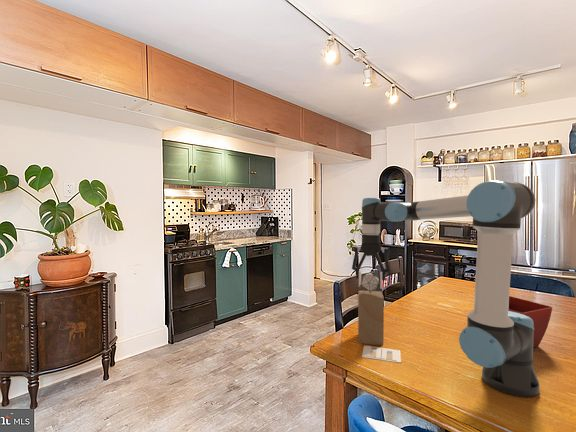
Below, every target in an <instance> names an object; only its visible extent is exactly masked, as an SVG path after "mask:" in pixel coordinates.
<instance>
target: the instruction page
mask: <svg viewBox="0 0 576 432" xmlns="http://www.w3.org/2000/svg"><path fill="white" fill-rule="evenodd" d="M361 357H362V358H364V359H365V358H366V359H371V360H378V361H386V362H391V363H397V364H398V363H399V364H401V363H402V356H401V350H399V349H392V348H384V347H380V346H379V347H376V346H369V345H363V349H362V355H361Z"/></svg>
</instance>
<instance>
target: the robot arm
mask: <svg viewBox="0 0 576 432" xmlns="http://www.w3.org/2000/svg"><path fill="white" fill-rule="evenodd" d="M535 196H536V195H535V193H534V192H533V190H532V189H531V188H530V187H529V186H527V185H526V184H524V183H521V182H516V181H505V180H497V179H496V180H487V181H484V182H481V183H479V184H477V185H476V186H474V187H473V188H472V189H471V190H470V192H469V193H468V195H467V194H466V195H461V196H460V195H459V196H453V197H442V198H436V199H430V200H429V199H428V200H427V199H426V200H419V201H410V202H408V201H407V202H399V201H389V202H387V201H386V202H383V201H382V202H381V198H379V197H364V198H362V200H361V201H362V203H361V233H362V235H361V245H360V246H356V245H355V247H354V254H353V255H354V256H353V259H352V260H353V261H352V265H351V270H353V271H355V277H356V279H358V287H360V288H361V286H362V285H361V283H362V279H361V278H362V270H360V269H361V267H362V265H363V263H364V260H366V257H370V256H371V257H375V259H376V261H377V264H378V266H379V268H380V270H381V271H380V272H379V273H380V275H379V276H380V277H379V278H380V279H379V283H380V286H379V288H380V289H383V281H385V280H386V273H389V272H390V271H391V269H390V263H389V258H388V257H389V256H388V247H383V246H381V235H380V234H381V221H382V222H384V221H385V222H392V223H395V222H396V223H398V222H402V221H403V222H404V221H419V220H420V221H421V220H422V221H423V220H433V219H436V220H437V219H451V218H452V219H453V218H468V217H472V228H474V230H476V231H477V244H476V245H477V247H476V261H475V262H476V263H475V265H476V266H475V267H476V268H475V281H474V282H475V283H474V299H473V310H471V311H469V312H468V313H467V320H466V321H467V322H466V327H465V328H463V329H462V330H461V332H460V334H459V336H458V338H459V339H458V341H459V346H460V348H461V350H462V352H463V353H464V354H465V355H466V357H467V359H469V360H470V361H471V362H473V364H476V365H477V366H480V367H482V369H481V377H482V378H481V379H482V380H483V381H484V382H485V383H486V385H488V386H490V387H491V388H493V389H495V390H497V391H499V392H501V393H504V394H508V395H511V396H515V397H522V398H533V397H537V396H538V395H539V394H540V389H541V388H540V382H539V379H538V376H537V373H536V371H535V368H534V347H533V339H534V325H533V320H532V319H531V318H530V317H528V316H526V315H523V314H520V313H516V312H511V311H508V307H509V296H510V289H511V275H512V274H511V273H512V272H511V271H512V260H513V259H512V258H513V257H512V256H513V242H514V235H515V233H517V232H518V231H519V230H521V223H522V221H521V220H522V219H523V218H525V217H527V216H528V215H530V213H532V211H533V210H534V208H535V205H536V197H535ZM360 250H361V251H362V252H363V254H362V257H361V258H360V260H359V263H358V264H357V262H358V261H357V260H358V256H359V252H360ZM380 251H382V253H383V256H384V263H385V266H384V265H383V262H382V260H381V257H380V255H379V253H380ZM356 265H357V266H356ZM360 285H361V286H360Z"/></svg>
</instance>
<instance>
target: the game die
mask: <svg viewBox="0 0 576 432" xmlns="http://www.w3.org/2000/svg"><path fill="white" fill-rule="evenodd" d="M362 276H363V277H361V285H360V286H362V287H363V288H364V289H365V290H364V291H370V292H369V293H371V291H378V290H379V289H378V287H380V285H379V283H380V277H378V276H376V273H374V274H373V273H372V271H371V270H370V271H369V273H366V274H364V273H362Z"/></svg>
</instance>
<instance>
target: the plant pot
mask: <svg viewBox="0 0 576 432" xmlns="http://www.w3.org/2000/svg"><path fill="white" fill-rule="evenodd" d="M508 311H511V312H516V313H520V314H523V315H526V316H528V317H530V318H531V319H532V320H533V325H534V339H533V348H536V347H539V346H540V344H541V342H542V341H543V338H544V336H545V334H546V332H547V329H548V326H549V324H550V320H551V317H552V312H553V307H552V306H551V305H546V304H542V303H539V302H535V301H530V300H526V299H524V298H520V297H515V296H512V295H509V307H508Z"/></svg>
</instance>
